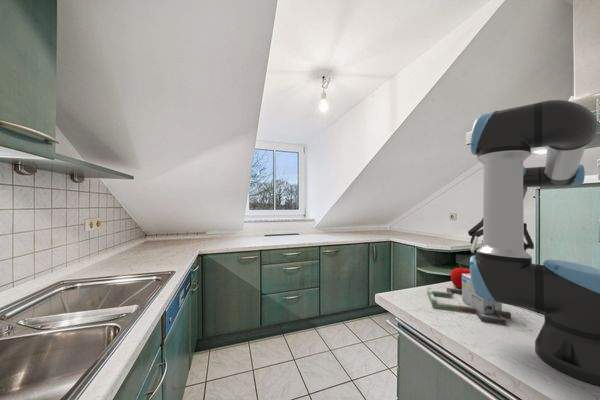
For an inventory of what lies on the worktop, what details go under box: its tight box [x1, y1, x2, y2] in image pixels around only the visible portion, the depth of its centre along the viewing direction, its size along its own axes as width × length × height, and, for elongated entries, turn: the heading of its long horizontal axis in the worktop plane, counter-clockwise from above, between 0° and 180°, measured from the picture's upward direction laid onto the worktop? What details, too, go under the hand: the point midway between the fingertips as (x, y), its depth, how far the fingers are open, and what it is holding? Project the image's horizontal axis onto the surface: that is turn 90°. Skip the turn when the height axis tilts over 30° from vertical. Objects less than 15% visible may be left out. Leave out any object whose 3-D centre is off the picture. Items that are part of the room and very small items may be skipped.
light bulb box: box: [461, 274, 503, 315], centre depth 85 cm, size 11×7×11 cm, turn 1°
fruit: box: [450, 264, 470, 289], centre depth 104 cm, size 9×9×10 cm
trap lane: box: [426, 287, 512, 326], centre depth 87 cm, size 25×23×2 cm
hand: (492, 256), depth 91 cm, fingers open, 13 cm apart
